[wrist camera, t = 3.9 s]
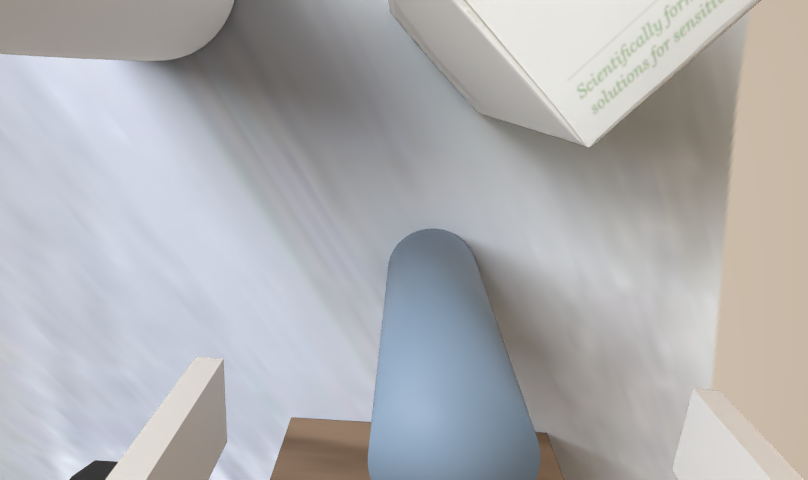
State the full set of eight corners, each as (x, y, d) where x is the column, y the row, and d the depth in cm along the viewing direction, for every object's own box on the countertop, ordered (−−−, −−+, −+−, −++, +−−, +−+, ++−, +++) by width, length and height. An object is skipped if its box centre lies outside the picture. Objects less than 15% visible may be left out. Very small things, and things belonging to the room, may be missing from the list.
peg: (471, 314, 28) (528, 535, 15) (385, 308, 28) (363, 526, 15) (480, 231, 27) (552, 392, 13) (390, 225, 27) (371, 381, 13)
